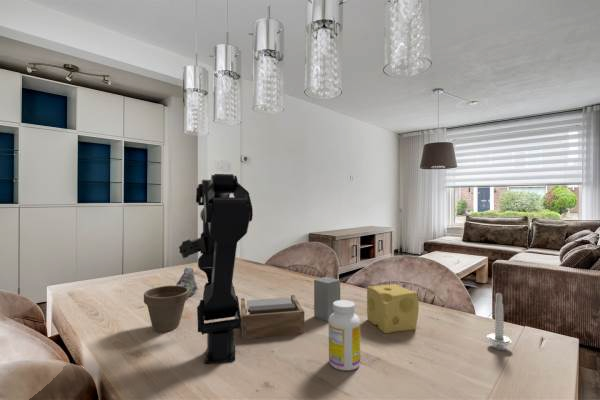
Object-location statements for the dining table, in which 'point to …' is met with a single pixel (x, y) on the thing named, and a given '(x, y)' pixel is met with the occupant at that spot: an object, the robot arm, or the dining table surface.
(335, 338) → the supplement bottle
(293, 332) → the trap frame
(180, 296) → the flower pot
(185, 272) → the mineral rock
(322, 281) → the grey rectangular block
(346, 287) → the dining table surface
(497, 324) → the screw
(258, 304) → the trapdoor
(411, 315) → the cheese
